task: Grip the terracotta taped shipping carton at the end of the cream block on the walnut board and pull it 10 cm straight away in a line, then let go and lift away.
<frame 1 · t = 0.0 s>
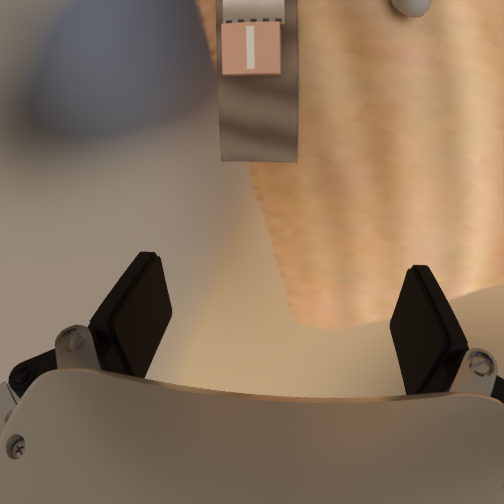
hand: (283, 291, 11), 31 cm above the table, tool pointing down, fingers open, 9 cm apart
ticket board: (257, 29, 30), on the table
taped shipping carton: (253, 50, 28), point 4 cm above the table, slide at 0.0 cm
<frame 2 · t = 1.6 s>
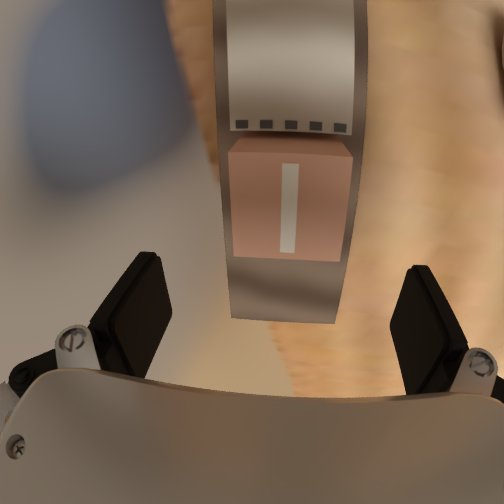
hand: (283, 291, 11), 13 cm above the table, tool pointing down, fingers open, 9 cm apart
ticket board: (291, 121, 19), on the table
taped shipping carton: (289, 189, 18), point 4 cm above the table, slide at 0.0 cm
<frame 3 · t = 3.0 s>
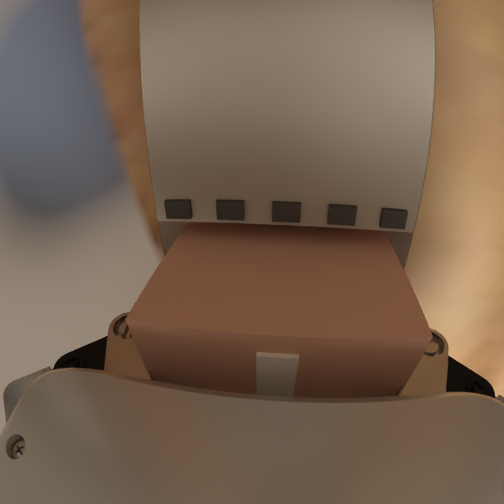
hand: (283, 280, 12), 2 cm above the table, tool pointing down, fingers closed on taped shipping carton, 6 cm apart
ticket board: (288, 178, 11), on the table
taped shipping carton: (280, 331, 9), point 4 cm above the table, slide at 0.0 cm, touching gripper
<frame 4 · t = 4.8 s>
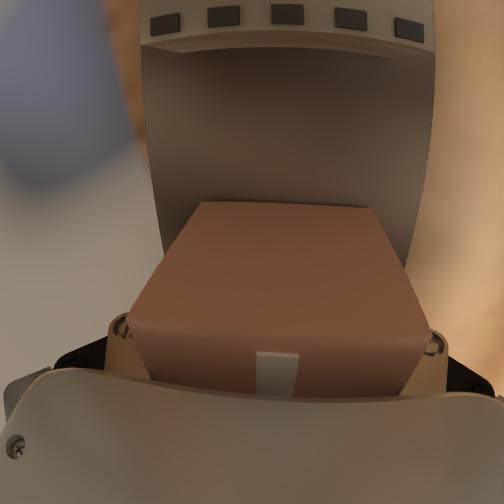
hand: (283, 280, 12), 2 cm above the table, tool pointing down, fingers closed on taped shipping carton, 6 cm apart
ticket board: (288, 50, 9), on the table
taped shipping carton: (280, 331, 9), point 4 cm above the table, slide at 4.9 cm, touching gripper
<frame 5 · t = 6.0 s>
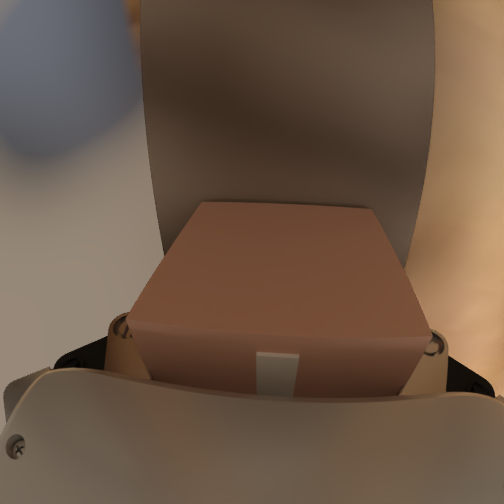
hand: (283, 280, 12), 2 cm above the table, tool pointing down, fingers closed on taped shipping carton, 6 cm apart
taped shipping carton: (280, 332, 9), point 4 cm above the table, slide at 9.9 cm, touching gripper
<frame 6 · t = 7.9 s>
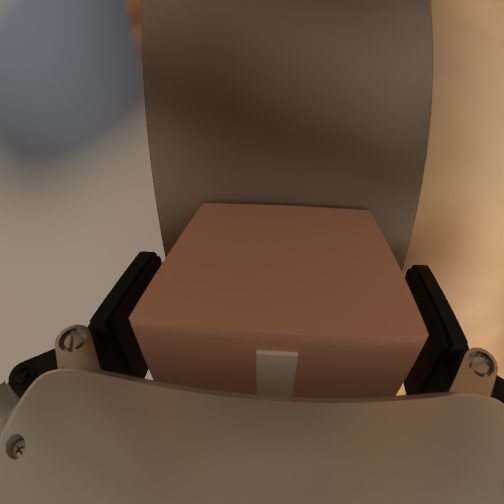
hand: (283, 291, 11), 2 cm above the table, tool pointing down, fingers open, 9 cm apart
taped shipping carton: (279, 331, 9), point 4 cm above the table, slide at 10.0 cm
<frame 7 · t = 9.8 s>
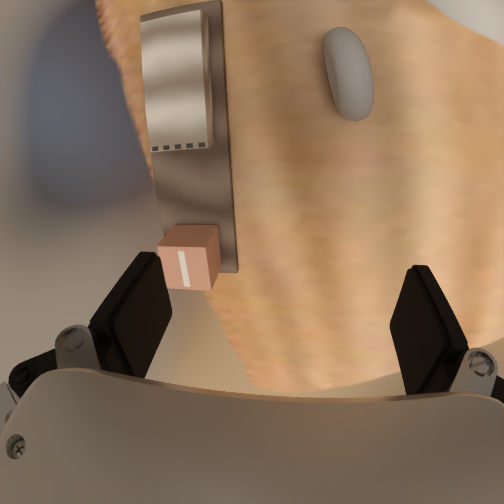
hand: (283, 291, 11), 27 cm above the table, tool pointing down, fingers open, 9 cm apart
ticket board: (189, 143, 35), on the table
donut: (339, 76, 29), on the table
taped shipping carton: (191, 256, 38), point 4 cm above the table, slide at 10.0 cm
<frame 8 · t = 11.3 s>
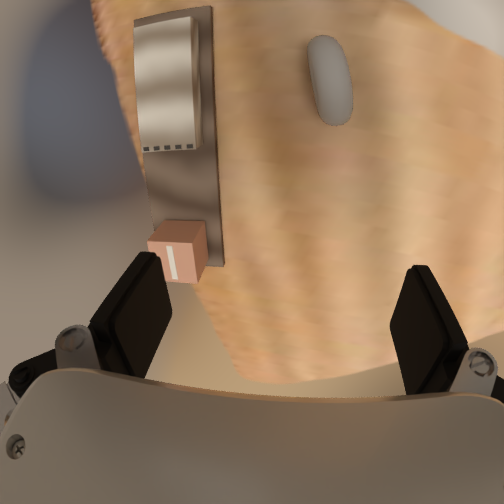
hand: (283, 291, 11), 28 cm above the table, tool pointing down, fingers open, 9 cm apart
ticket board: (179, 143, 36), on the table
donut: (323, 80, 30), on the table
taped shipping carton: (179, 250, 40), point 4 cm above the table, slide at 10.0 cm
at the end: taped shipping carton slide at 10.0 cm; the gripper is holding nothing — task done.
